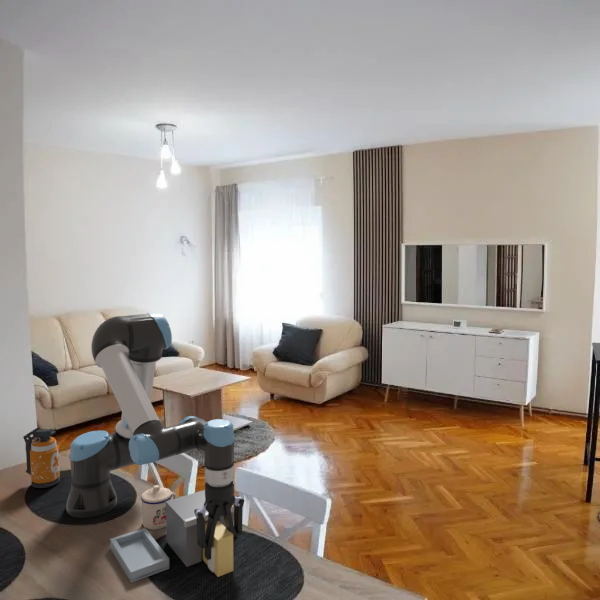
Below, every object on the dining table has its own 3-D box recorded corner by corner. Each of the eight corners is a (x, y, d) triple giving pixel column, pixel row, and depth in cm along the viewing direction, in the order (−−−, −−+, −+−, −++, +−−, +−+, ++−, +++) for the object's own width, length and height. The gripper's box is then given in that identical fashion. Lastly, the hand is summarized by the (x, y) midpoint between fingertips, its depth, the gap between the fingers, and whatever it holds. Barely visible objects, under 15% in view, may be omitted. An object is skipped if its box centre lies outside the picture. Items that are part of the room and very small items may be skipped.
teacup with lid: (154, 534, 154) (153, 496, 152) (135, 524, 159) (134, 487, 158) (186, 517, 163) (185, 481, 162) (167, 508, 169) (166, 473, 167)
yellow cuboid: (197, 554, 144) (197, 519, 143) (212, 548, 147) (212, 514, 145) (217, 577, 134) (217, 540, 133) (233, 570, 137) (233, 534, 136)
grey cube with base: (166, 542, 150) (165, 500, 148) (211, 526, 158) (210, 486, 156) (186, 566, 138) (185, 521, 137) (233, 549, 147) (233, 506, 145)
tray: (110, 548, 146) (110, 538, 146) (145, 536, 152) (145, 527, 152) (131, 582, 132) (131, 572, 132) (169, 568, 138) (169, 558, 137)
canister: (52, 490, 180) (49, 433, 178) (20, 489, 180) (17, 433, 178) (64, 478, 189) (62, 424, 187) (33, 477, 189) (31, 424, 187)
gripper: (194, 496, 127) (195, 585, 130) (256, 477, 137) (256, 560, 140) (181, 484, 133) (183, 570, 136) (242, 467, 143) (242, 547, 146)
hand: (220, 565), depth 138 cm, fingers closed on yellow cuboid, 4 cm apart
